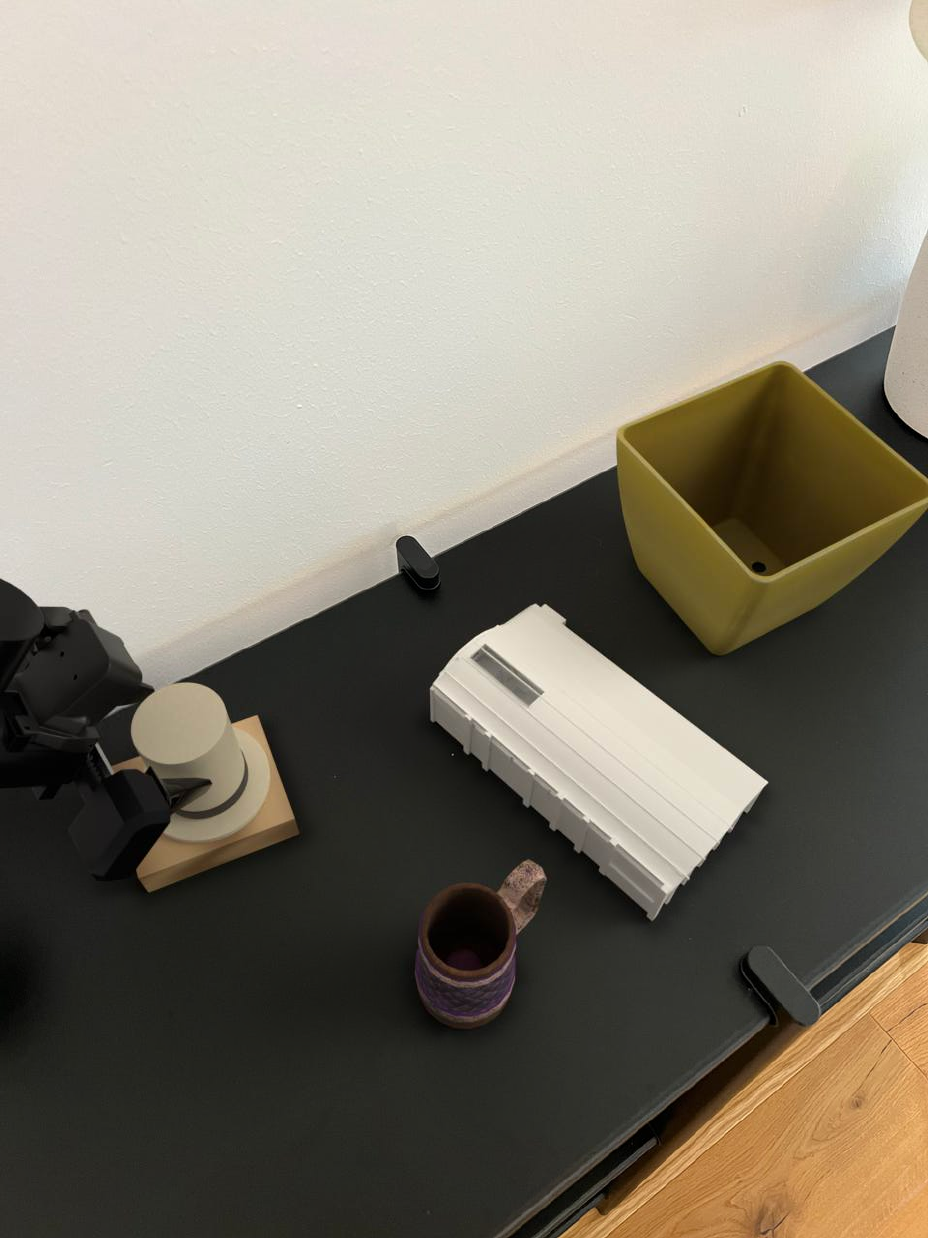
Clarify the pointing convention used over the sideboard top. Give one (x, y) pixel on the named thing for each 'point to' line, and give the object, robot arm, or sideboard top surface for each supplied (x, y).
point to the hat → (202, 760)
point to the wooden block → (189, 859)
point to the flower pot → (759, 502)
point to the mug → (474, 946)
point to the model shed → (593, 752)
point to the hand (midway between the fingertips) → (179, 738)
